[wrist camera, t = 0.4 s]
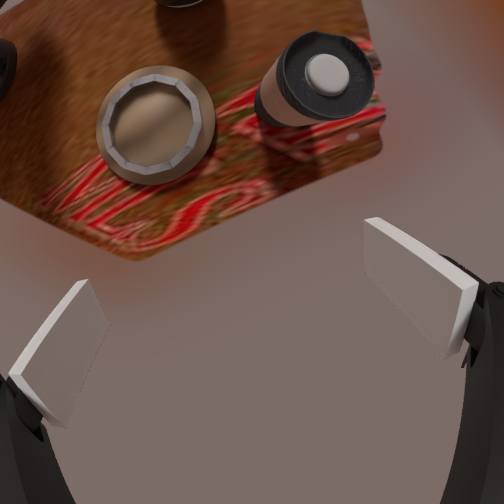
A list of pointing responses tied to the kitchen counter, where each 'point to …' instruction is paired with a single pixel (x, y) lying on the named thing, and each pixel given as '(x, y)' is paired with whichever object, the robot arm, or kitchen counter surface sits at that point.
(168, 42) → the kitchen counter surface
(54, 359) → the robot arm
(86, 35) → the kitchen counter surface
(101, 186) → the kitchen counter surface
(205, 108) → the carrier plate
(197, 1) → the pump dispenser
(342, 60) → the travel mug
